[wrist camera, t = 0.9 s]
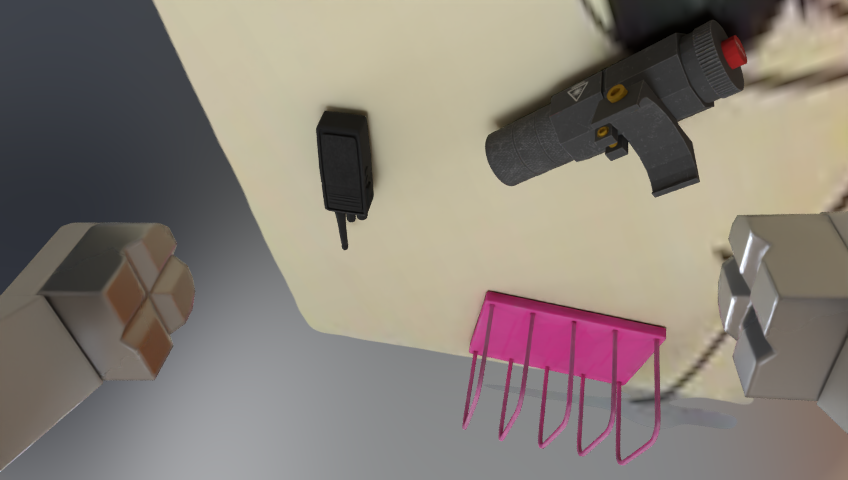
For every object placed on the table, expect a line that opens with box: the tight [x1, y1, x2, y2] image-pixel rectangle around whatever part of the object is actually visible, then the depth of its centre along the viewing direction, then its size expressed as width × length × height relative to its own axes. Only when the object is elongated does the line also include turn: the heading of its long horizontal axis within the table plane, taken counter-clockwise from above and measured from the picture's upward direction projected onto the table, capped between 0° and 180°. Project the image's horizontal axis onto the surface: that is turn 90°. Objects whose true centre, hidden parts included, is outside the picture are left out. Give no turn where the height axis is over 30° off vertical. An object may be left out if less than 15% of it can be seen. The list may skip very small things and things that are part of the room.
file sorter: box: [462, 292, 666, 465], centre depth 91 cm, size 17×25×16 cm
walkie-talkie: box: [316, 111, 374, 250], centre depth 72 cm, size 6×6×20 cm
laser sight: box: [485, 20, 747, 197], centre depth 54 cm, size 10×22×10 cm, turn 134°
